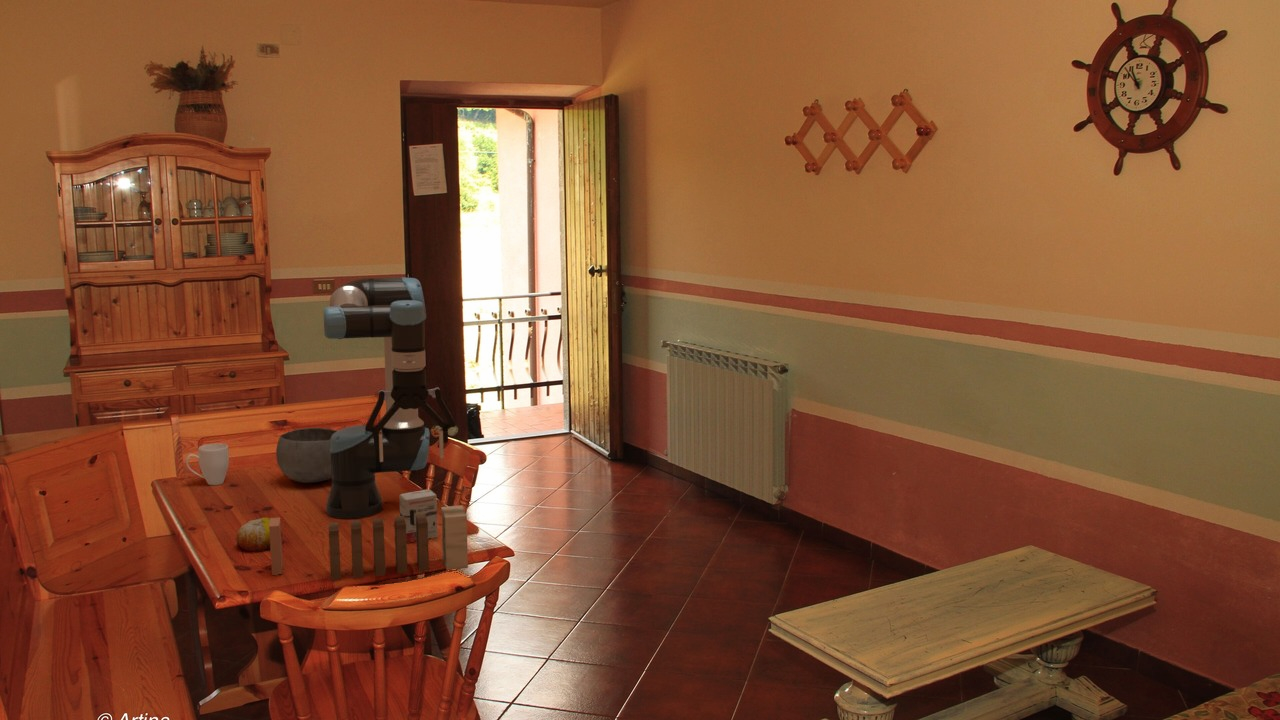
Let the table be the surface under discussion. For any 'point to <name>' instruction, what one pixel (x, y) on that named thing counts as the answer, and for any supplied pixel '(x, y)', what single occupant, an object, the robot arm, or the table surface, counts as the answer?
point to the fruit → (255, 535)
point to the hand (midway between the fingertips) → (411, 458)
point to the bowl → (305, 454)
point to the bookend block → (454, 537)
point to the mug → (212, 462)
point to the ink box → (419, 512)
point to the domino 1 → (276, 546)
